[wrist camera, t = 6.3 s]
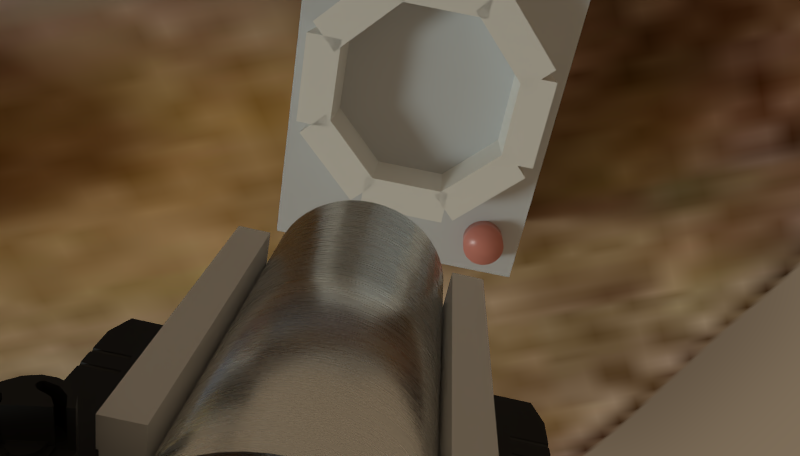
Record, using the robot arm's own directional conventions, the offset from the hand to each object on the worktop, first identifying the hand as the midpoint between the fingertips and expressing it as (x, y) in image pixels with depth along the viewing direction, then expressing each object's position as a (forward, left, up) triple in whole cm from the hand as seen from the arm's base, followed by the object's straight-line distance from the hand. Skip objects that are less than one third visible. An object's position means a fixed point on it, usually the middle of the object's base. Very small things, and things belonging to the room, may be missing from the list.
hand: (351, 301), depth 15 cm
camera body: (-3, +1, -16) cm, 17 cm away
